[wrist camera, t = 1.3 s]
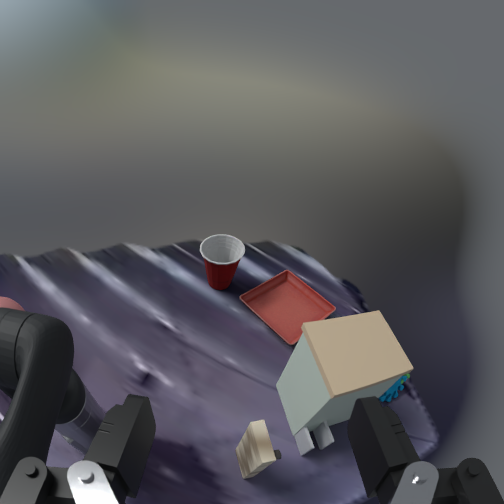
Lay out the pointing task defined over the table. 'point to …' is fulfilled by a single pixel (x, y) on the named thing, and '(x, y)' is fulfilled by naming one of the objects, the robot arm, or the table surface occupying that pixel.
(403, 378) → the gear
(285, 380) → the cabinet
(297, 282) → the plant saucer
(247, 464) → the tall wooden plank
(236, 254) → the plastic cup
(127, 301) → the table surface
